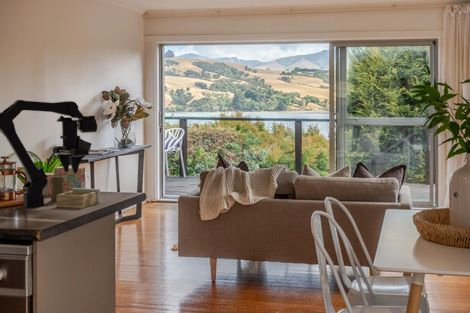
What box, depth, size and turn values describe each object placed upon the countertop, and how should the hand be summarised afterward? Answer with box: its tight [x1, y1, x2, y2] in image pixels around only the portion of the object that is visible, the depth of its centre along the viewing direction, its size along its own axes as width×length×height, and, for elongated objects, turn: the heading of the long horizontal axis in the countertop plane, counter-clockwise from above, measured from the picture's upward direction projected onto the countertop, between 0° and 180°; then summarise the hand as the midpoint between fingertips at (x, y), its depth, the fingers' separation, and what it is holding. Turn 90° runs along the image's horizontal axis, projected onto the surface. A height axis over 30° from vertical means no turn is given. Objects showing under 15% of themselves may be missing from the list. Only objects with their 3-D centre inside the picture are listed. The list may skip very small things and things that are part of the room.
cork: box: [50, 176, 64, 203], centre depth 231 cm, size 6×6×11 cm
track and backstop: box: [71, 187, 101, 204], centre depth 219 cm, size 19×12×6 cm, turn 164°
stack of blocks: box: [42, 166, 86, 196], centre depth 254 cm, size 21×6×12 cm, turn 87°
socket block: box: [56, 191, 98, 209], centre depth 221 cm, size 11×11×4 cm
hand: (71, 172), depth 224 cm, fingers open, 7 cm apart
